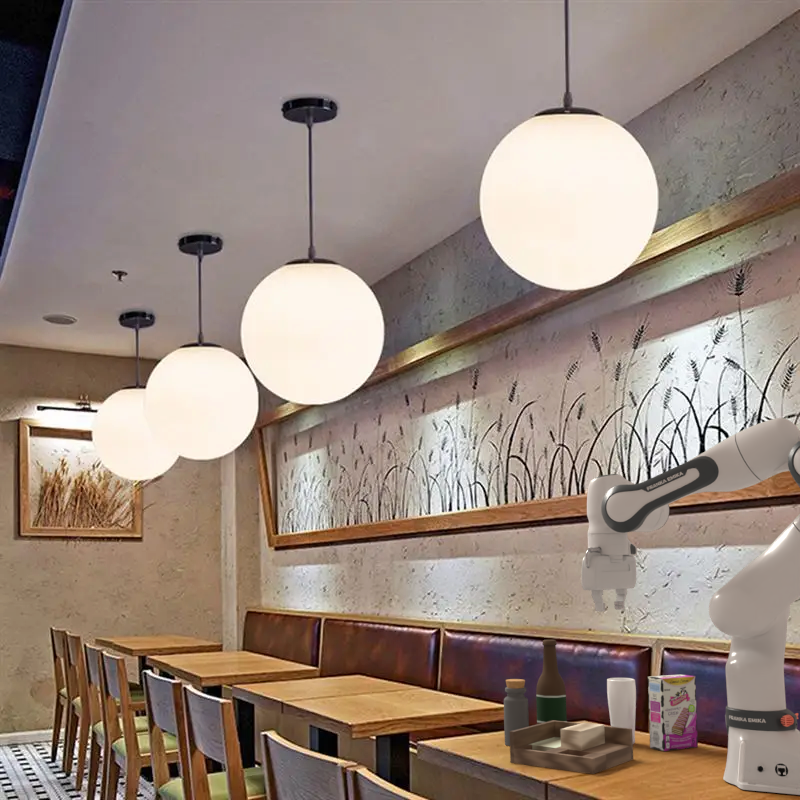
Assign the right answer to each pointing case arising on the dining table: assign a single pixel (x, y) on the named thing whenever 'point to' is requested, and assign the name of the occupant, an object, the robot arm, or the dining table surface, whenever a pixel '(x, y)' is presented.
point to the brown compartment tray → (545, 749)
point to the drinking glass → (622, 703)
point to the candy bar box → (672, 712)
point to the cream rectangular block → (582, 736)
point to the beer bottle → (550, 688)
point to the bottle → (515, 707)
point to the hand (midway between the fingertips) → (610, 610)
